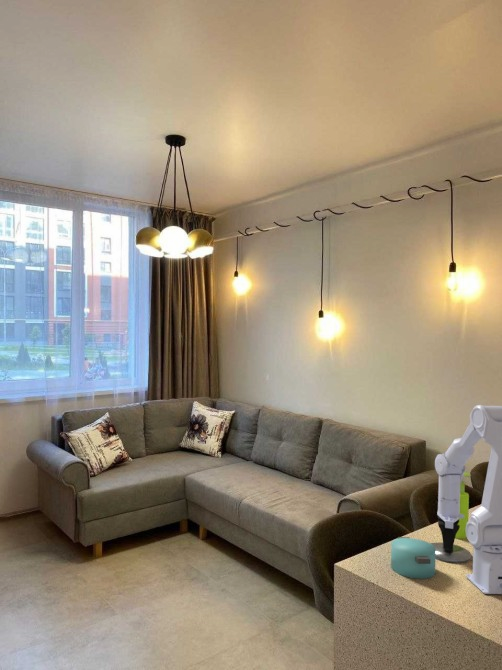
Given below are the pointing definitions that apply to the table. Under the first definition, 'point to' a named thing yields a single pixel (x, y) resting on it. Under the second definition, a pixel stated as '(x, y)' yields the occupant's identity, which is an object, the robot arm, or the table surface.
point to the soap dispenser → (463, 510)
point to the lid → (451, 553)
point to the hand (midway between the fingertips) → (448, 546)
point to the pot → (413, 558)
